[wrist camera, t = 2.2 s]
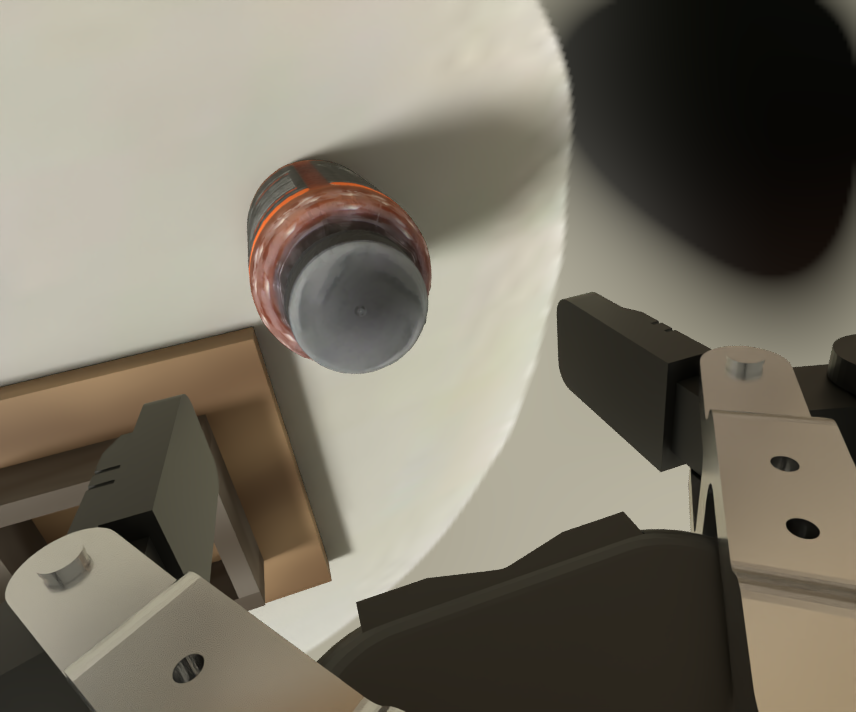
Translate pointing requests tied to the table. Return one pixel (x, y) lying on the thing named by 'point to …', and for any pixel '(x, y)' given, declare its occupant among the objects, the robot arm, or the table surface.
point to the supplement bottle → (336, 267)
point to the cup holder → (117, 415)
